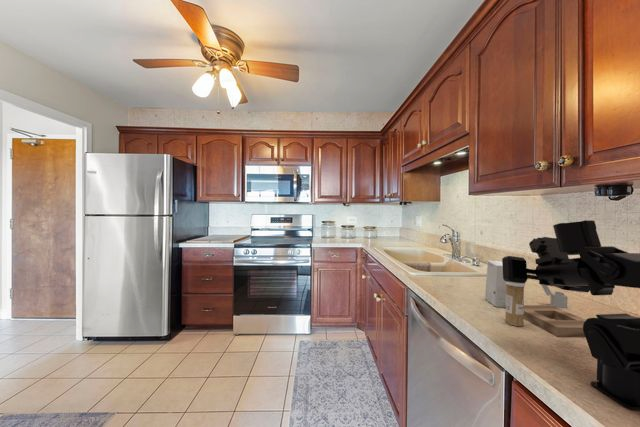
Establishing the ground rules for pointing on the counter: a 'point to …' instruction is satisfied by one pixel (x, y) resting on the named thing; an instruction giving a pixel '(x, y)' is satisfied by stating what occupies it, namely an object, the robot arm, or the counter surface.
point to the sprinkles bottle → (514, 303)
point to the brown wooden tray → (561, 326)
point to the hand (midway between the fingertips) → (520, 275)
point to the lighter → (556, 298)
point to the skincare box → (495, 284)
